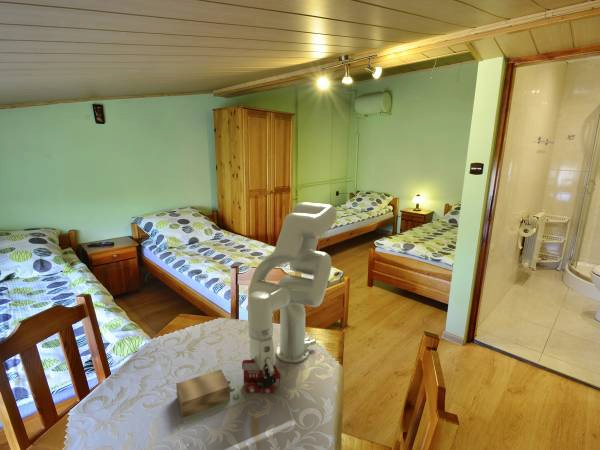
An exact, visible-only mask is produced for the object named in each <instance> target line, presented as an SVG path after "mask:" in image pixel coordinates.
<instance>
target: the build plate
mask: <svg viewBox="0 0 600 450" xmlns="http://www.w3.org/2000/svg"><path fill="white" fill-rule="evenodd" d="M224 376H225V378H226V380H227V382H228V384H229V386H230V401H227V402H224V403H222V404H219V405H216V406H214V407H211V408H208V409H205V410H203V411H200V412H197V413H195V414H192V415H189V416H186V417H184V418H183V417H182V421H183V424H184V425H186V424H189V423H191V422H195V421H196V420H200V419H202V418H205V417H208V416H210V415H212V414H215V413H218V412H221V411H223V410H226V409H228V408H232V407H234V406H236V405H239V404H242V403H244V402H246V400H245V397H244V396H243V394H242V391H241V390H240V388H239V386H238V384H237V382H236V380H235V379H234V377H233V375H232V374H228V375H224ZM175 395H176V396H177V391H176V392H175Z"/></svg>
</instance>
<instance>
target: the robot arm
mask: <svg viewBox="0 0 600 450" xmlns="http://www.w3.org/2000/svg"><path fill="white" fill-rule="evenodd" d="M336 220H337V210H336V208H335V206H333V204H329V203H328V204H327V203H315V202H304V201H303V202H298V203H296V204H295V205H294V206H293V210H292V212H291V213H288V214H287V215H286V216H285V217H284V220H283V223H282V226H281V229H280V233H279V235H278V239H277V241H276V245H275V248H274V250H273V251H272V252H271V253H270V254H269V255H268V256H266V257H265V258H264V259H263V260H262V261H261V262H260V263H259V264H258V265H257V267H256V268H255V269H254V272H253V274H252V278H251V281H250V284H249V288H248V296H247V297H248V298H247V313H248V315H247V316H248V317H247V318H248V337H249V352H250V353H249V355H250V360H254V361H255V363H256V364H257V366H258V367H259V369H261V370H262V373H263V377H262V386H261V388H262V387H263V389H265V388H268V387H270V386H272V376H273V374H274V368H273V366H274V365H276V363H275V355H276V357H277V358H278V359H279V360H280V361H282V362H284V363H288V364H297V363H301V362H303V361H305V360H307V358H308V357H309V353H310V351H309V347H310V346H314V345H316V340H315V339H311V340H310V338H309V337H306V309H305V306H307V307H312V308H316V307H317V308H318V307H320V305H321V304H322V303H323V302H324V301H323V300H324V297H325V295H326V291H327V286H328V283H329V280H330V279H329V278H330V274H331V270H332V265H333V264H332V257H331V255H330V254H328V253H327V252H325V251H322V250H321V251H320V250H317V247H318V244H319V239H320V238H322V237H323V236H324V235H325V234H326V233H327V232H328V231H329V230H330V229H331V228H332V227H333V225H334V224H335V222H336ZM284 264H289V269H290V270H291V271H292V272H295V273H297V274H301V275H307V276H311V277H313V278H309V277H304V276H299V275H294V274H286V275H283V276H282V277H280V278H279V281H278V283H275V282H270V281H266V279H267V278H268V275H269V274H270V273H271V272H272V270H274V269H275V268H277V267H280V266H282V265H284ZM276 311H280V312H279V316H280V317H279V326H280V327H279V329H280V330H279V331H280V332H279V336H280V338H279V339H280V340H279V346H277V348H276V350H275V347H274V346H275V345H274V341H273V330H274V328H273V326H274V325H273V321H274V320H273V319H274V318H273V316H274V315H273V313H275V312H276ZM275 353H276V354H275ZM265 364H266V365H267V366H266V367H264V366H265ZM267 368H268V373H265V369H267Z"/></svg>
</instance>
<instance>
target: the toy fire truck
mask: <svg viewBox="0 0 600 450" xmlns="http://www.w3.org/2000/svg"><path fill="white" fill-rule="evenodd" d="M266 366H267V365H266V364H265V366H264V367H266ZM273 368H274V374H273V376H272V386H270V387H268V388H265V389H263V387H262V377H263V373H262V370H261V369H259V367H258V366H257V364H256V363H255V361H254V360H251V359H243V360H242V362H241V369H242V370H243V386H245V393H246V394H249V393H250V394H257V393H258V392H259V387H261V393H262V394H274V392H275V387H280V385H281V380H282V378H281V373H280V371H279V369H278V367H277V366H276V364H275V365H274V366H273ZM265 373H268V368H267V369H265Z"/></svg>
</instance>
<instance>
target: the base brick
mask: <svg viewBox="0 0 600 450" xmlns="http://www.w3.org/2000/svg"><path fill="white" fill-rule="evenodd" d="M225 376H226V375H225V374H224V372H223V371H222V369H218V370H215V371H214V370H213V371H211V372H209V373H206V374H202V375H198V376H195V377H192V378H190V379H186V380H183V381H180V382H176V383H175V386H176V392H177V395H176V398H177V401H178V402H177V403H178V405H179V409H180V414H181V416H182V417H181V418H182V419H183V418H184V417H186V416H189V415H192V414H195V413H197V412H200V411H203V410H205V409H208V408H211V407H214V406H216V405H219V404H222V403H224V402H227V401H230V386H229V384H228V382H227V380H226V378H225Z"/></svg>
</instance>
